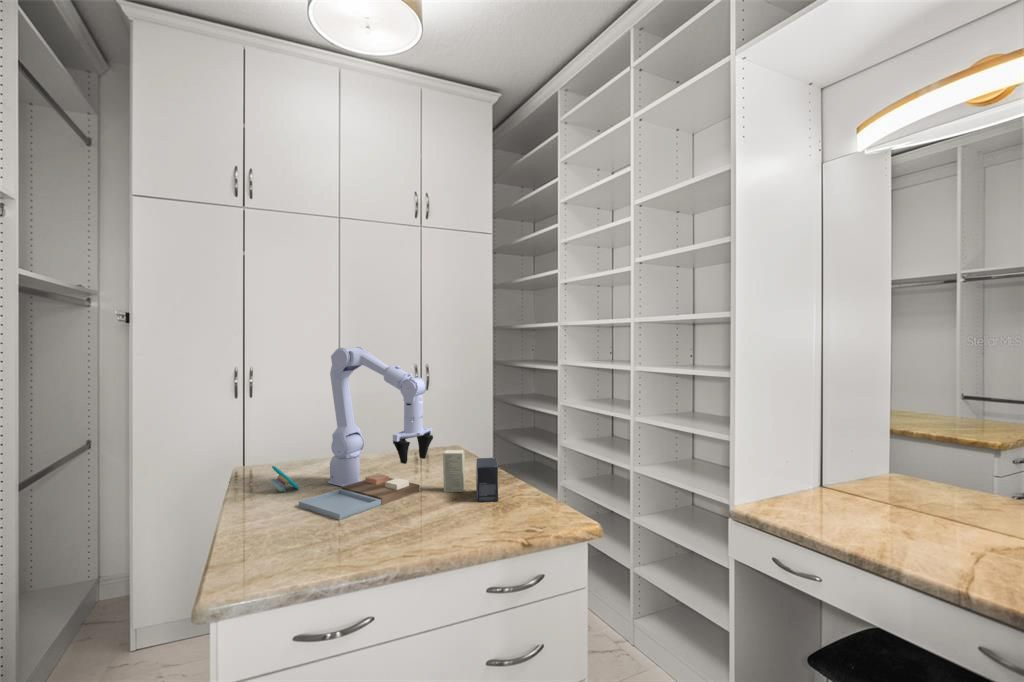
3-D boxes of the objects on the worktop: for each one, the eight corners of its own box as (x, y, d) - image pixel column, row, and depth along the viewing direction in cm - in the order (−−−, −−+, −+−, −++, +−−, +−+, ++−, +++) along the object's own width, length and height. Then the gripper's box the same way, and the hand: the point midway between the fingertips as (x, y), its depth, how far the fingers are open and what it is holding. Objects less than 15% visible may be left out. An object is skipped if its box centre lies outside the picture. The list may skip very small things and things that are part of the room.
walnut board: (341, 493, 153) (341, 486, 153) (379, 481, 166) (379, 475, 165) (382, 504, 143) (382, 497, 143) (419, 491, 155) (419, 484, 155)
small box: (475, 491, 156) (475, 457, 156) (496, 490, 157) (497, 457, 156) (476, 502, 145) (476, 466, 145) (498, 502, 146) (499, 466, 146)
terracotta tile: (365, 481, 158) (365, 477, 158) (377, 478, 162) (377, 473, 162) (376, 484, 155) (376, 479, 155) (388, 480, 160) (388, 476, 159)
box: (298, 506, 141) (298, 501, 141) (340, 493, 153) (340, 488, 153) (339, 520, 131) (339, 514, 131) (381, 505, 143) (381, 499, 143)
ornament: (262, 476, 158) (261, 475, 149) (273, 465, 160) (273, 463, 151) (288, 499, 159) (289, 499, 150) (299, 488, 161) (300, 487, 152)
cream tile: (385, 486, 153) (385, 482, 153) (397, 482, 157) (397, 478, 157) (396, 489, 150) (396, 484, 150) (409, 485, 154) (409, 480, 154)
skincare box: (465, 488, 159) (465, 449, 159) (463, 492, 154) (463, 453, 154) (445, 487, 159) (445, 449, 159) (442, 492, 155) (442, 452, 155)
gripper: (403, 421, 147) (403, 467, 147) (439, 415, 158) (439, 458, 159) (388, 418, 151) (388, 463, 152) (424, 412, 163) (424, 454, 163)
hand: (413, 460), depth 156 cm, fingers open, 7 cm apart
